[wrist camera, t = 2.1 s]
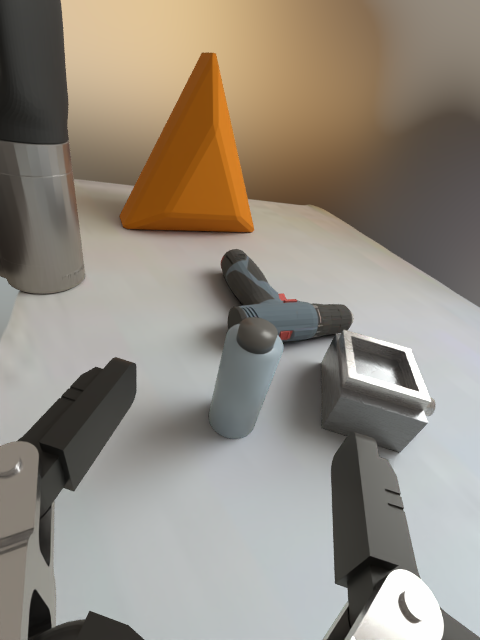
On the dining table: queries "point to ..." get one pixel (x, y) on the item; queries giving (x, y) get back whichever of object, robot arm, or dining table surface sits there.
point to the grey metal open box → (373, 390)
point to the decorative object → (193, 165)
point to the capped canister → (244, 376)
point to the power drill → (278, 303)
